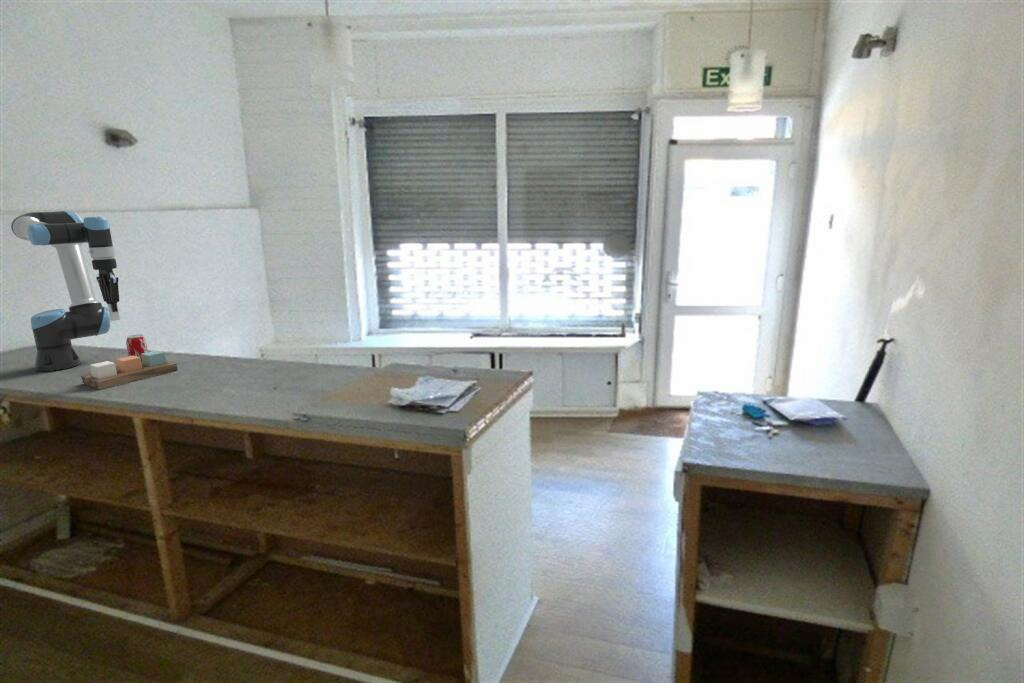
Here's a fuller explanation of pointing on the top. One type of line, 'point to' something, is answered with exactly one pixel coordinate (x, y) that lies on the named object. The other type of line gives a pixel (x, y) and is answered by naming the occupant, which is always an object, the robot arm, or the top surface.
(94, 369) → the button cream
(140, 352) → the soda can
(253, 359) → the top surface
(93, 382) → the board
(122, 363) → the orange cube
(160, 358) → the teal cube
